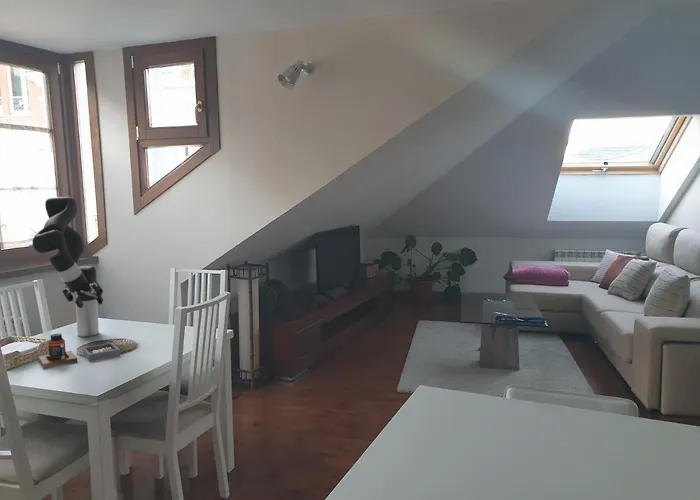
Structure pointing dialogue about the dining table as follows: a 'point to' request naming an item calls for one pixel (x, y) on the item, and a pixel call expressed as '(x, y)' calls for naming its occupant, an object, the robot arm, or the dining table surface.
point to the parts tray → (100, 355)
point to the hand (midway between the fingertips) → (91, 304)
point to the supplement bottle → (56, 347)
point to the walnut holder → (47, 364)
